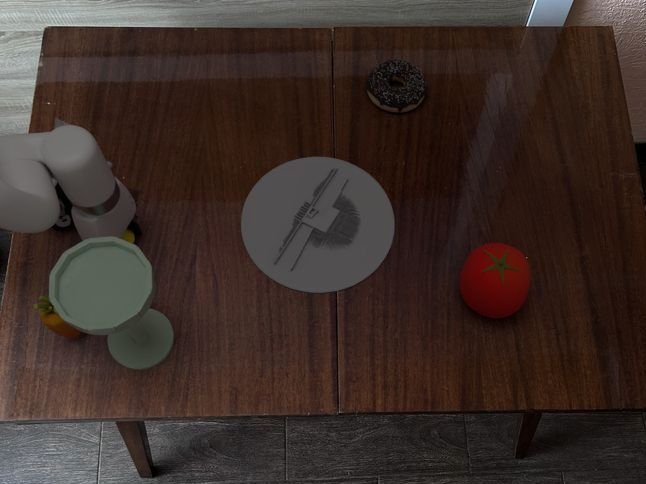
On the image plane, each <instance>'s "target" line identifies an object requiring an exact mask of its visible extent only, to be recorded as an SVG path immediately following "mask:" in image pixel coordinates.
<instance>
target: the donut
mask: <svg viewBox="0 0 646 484" xmlns="http://www.w3.org/2000/svg"><path fill="white" fill-rule="evenodd" d="M391 82H398V83H401V84H402V85H403V87H398V88H397V87H393V86H392V85H391V84H390V83H391ZM364 90H365V91H366V93H367V95H368V97H369V99H370V101H371V103H373V104H374V105H375V106H376V107H378V108H380V109H381V110H384V111H387V112H390V113H397V114H401V113H407V112H410V111H412V110H414V109H416V108H417V107H418V106H419V105H421V103H422V102H423V100H424V99H425V97H427V94H428V84H427V80H426V78H425V75H424V74H423V73H422V71H421V70H420V69H419V68H418V67H417V66H416V65H414V64H412V63H410V62H408V61H406V60H403V59H399V58H390V59H388V60H385V61H383V62H381V63H379V64H378V65H376V66H375V67H373V69H372V71H371V72H370V73H369V74H368V77H367V79H366V83H365V89H364Z"/></svg>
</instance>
